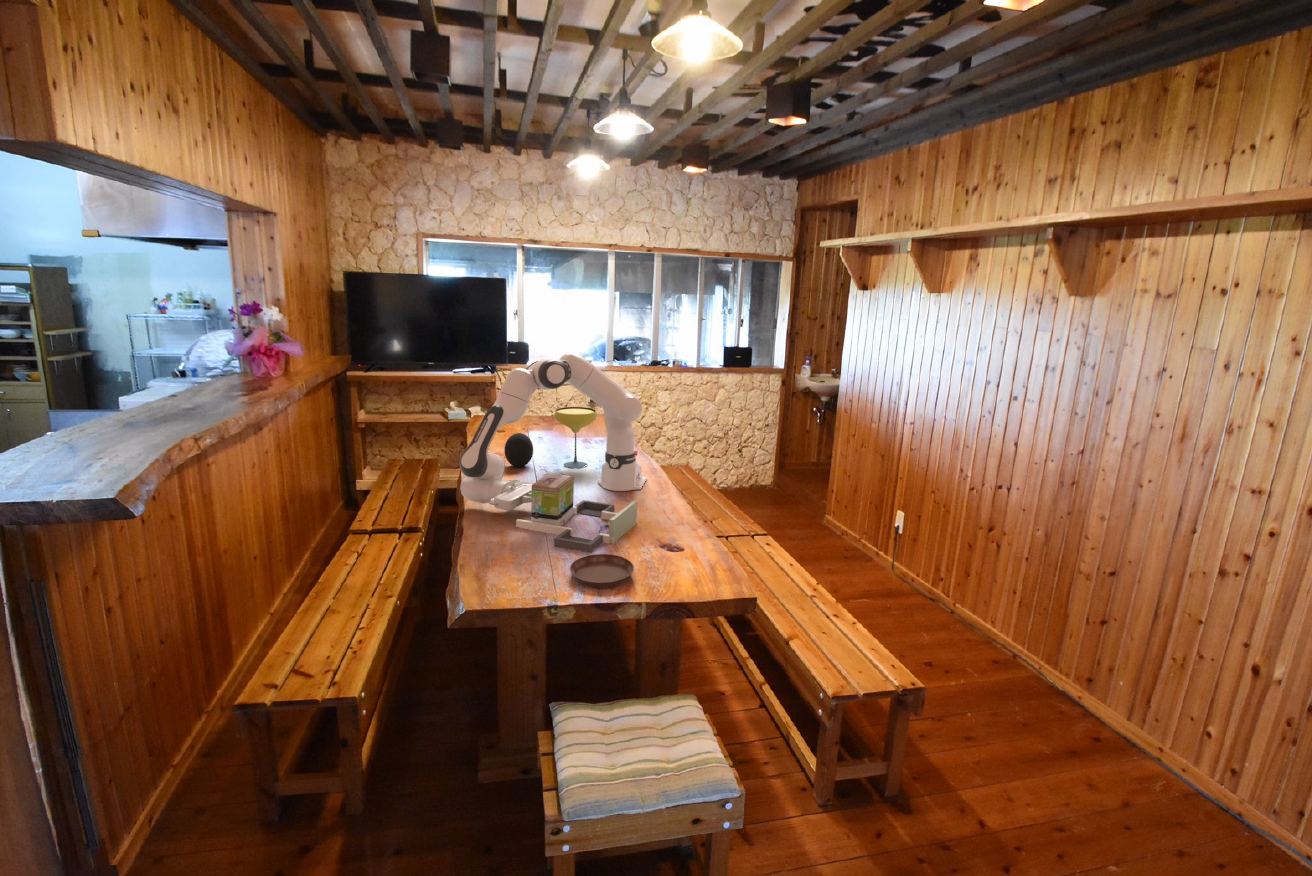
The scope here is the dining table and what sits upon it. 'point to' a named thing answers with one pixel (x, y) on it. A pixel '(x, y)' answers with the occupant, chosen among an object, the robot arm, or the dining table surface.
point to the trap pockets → (582, 543)
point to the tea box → (552, 499)
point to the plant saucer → (602, 570)
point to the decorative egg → (518, 450)
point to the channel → (617, 520)
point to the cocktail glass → (575, 425)
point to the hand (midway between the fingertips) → (538, 499)
